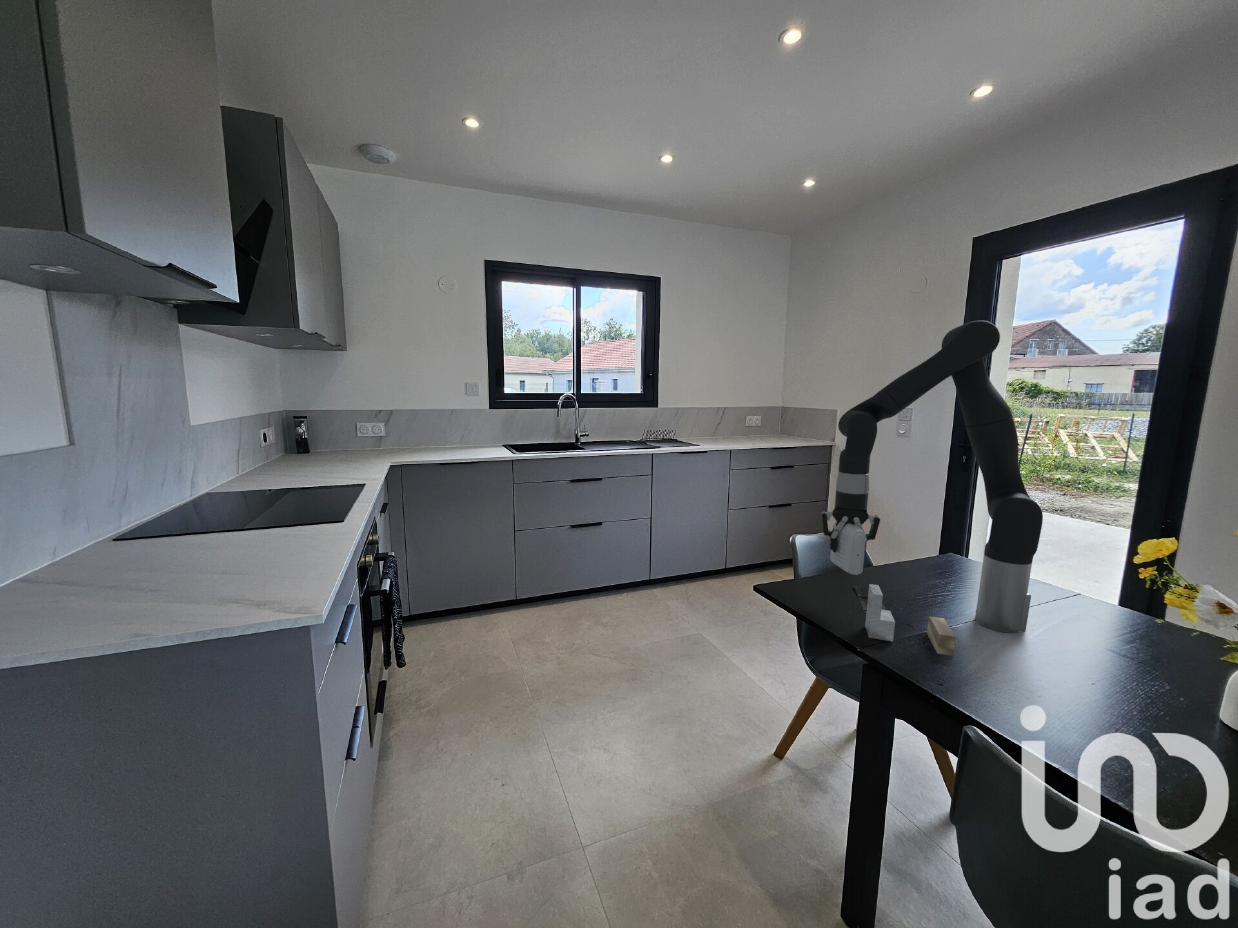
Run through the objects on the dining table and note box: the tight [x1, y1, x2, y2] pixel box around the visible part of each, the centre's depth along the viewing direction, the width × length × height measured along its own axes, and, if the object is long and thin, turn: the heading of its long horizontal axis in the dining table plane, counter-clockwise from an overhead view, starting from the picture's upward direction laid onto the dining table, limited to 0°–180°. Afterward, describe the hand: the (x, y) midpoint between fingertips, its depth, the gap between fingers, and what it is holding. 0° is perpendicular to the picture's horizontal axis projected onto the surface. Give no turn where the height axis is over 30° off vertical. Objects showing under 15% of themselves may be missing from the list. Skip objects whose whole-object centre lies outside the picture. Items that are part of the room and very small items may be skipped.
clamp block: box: [926, 616, 957, 657], centre depth 110 cm, size 3×9×4 cm, turn 160°
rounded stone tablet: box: [829, 520, 866, 576], centre depth 126 cm, size 10×4×12 cm, turn 6°
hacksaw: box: [852, 585, 916, 632], centre depth 129 cm, size 24×10×2 cm, turn 164°
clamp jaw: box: [864, 583, 896, 643], centre depth 114 cm, size 5×6×11 cm
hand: (847, 552), depth 126 cm, fingers closed on rounded stone tablet, 5 cm apart
